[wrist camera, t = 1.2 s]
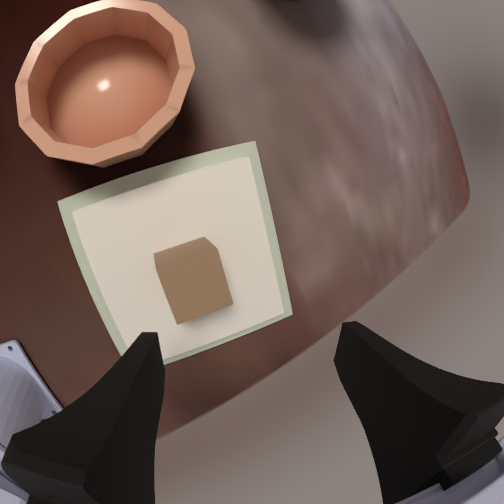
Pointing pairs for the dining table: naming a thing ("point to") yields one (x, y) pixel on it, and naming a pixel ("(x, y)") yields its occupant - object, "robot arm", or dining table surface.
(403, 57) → the dining table surface
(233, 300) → the cover plate
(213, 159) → the mat
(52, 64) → the bowl
